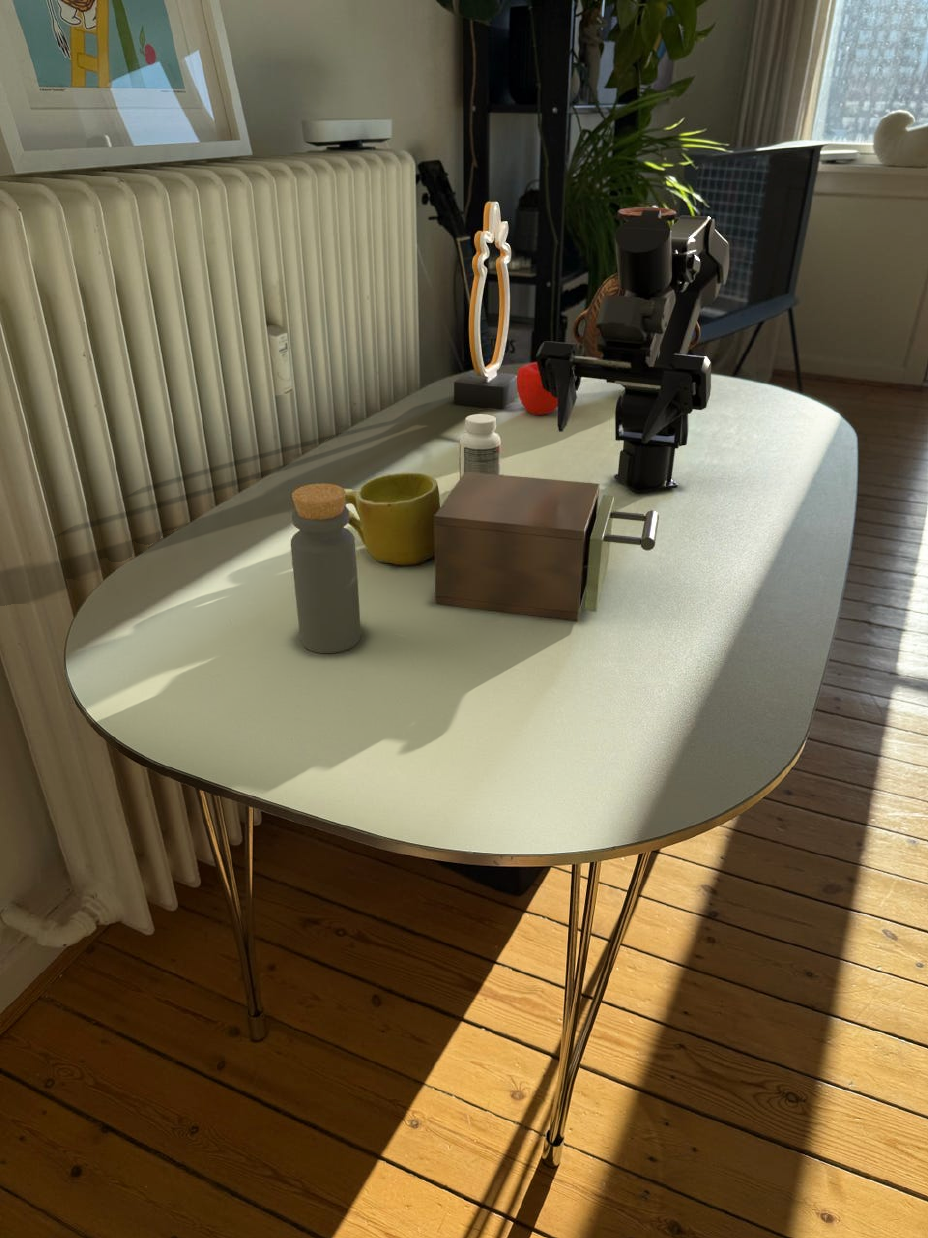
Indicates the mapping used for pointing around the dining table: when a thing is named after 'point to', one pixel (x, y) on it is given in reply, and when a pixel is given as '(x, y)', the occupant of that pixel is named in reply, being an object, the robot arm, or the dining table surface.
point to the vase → (613, 288)
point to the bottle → (325, 570)
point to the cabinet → (515, 544)
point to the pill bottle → (480, 445)
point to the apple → (534, 391)
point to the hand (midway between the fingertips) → (600, 434)
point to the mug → (396, 517)
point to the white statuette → (482, 381)
